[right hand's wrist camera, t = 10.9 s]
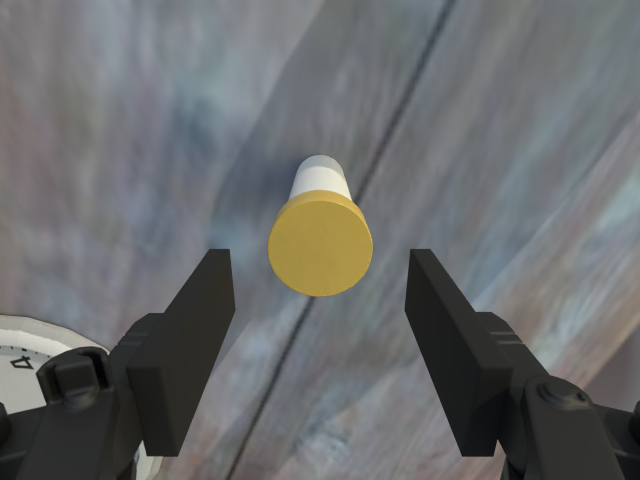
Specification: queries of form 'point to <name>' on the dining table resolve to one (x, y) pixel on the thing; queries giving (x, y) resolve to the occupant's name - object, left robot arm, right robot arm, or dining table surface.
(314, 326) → the dining table surface
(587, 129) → the dining table surface
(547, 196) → the dining table surface
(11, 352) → the wall clock
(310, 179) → the white cylinder
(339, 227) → the lid
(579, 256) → the dining table surface
